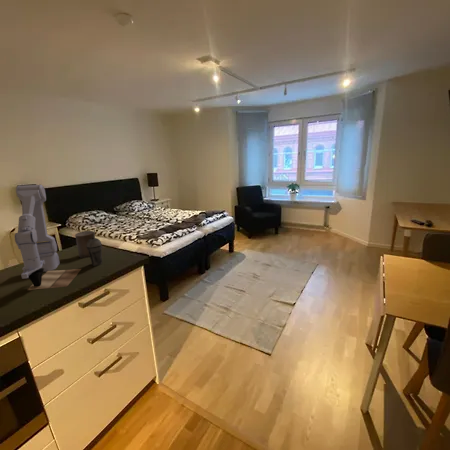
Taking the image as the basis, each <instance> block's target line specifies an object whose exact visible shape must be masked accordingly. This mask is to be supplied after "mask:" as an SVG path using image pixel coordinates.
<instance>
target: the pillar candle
mask: <svg viewBox="0 0 450 450" xmlns="http://www.w3.org/2000/svg"><path fill="white" fill-rule="evenodd" d="M74 236H75V242H76V248H77V250H78V251H77V252H78V257H79V258H80V259H86V258H87V259H88V258H90V255H89V251H88V249H87V242H88V240H90V239H91V238H94V230H84V231H79V232H77V233H75V234H74Z"/></svg>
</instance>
